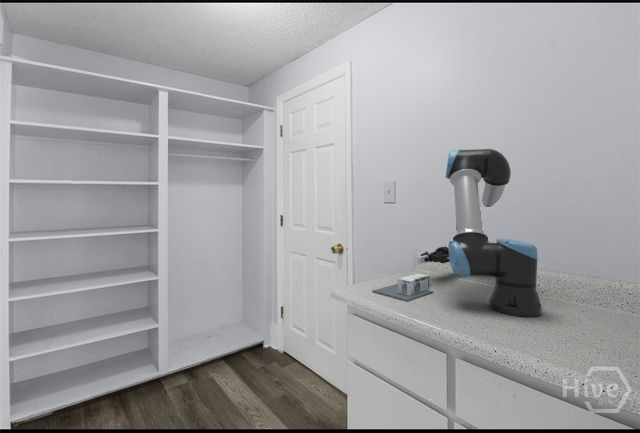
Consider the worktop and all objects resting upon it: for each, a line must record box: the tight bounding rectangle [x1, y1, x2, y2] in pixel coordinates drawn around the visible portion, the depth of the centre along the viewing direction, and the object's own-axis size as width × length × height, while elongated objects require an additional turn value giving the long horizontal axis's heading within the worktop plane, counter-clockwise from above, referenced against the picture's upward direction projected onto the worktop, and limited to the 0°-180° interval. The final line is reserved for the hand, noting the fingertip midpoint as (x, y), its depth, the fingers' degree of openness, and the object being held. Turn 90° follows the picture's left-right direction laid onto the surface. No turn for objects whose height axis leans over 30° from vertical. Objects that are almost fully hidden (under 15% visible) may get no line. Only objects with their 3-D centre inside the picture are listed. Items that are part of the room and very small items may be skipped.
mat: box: [372, 283, 434, 303], centre depth 128 cm, size 18×16×1 cm
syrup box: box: [397, 273, 431, 296], centre depth 127 cm, size 6×6×14 cm
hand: (418, 260), depth 136 cm, fingers closed
